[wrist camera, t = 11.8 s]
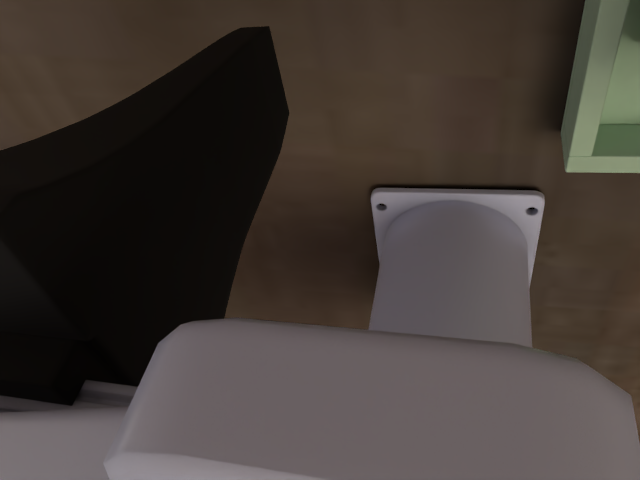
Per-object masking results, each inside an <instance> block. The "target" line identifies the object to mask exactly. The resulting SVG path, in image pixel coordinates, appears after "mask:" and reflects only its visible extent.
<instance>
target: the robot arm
mask: <svg viewBox="0 0 640 480" xmlns="http://www.w3.org/2000/svg"><path fill="white" fill-rule="evenodd" d="M288 116H289V110H288V105H287V101H286V97H285V92H284V88H283V84H282V80H281V75H280V71H279V67H278V62H277V58H276V54H275V49H274V45H273V41H272V36H271V32H270V28H269V26H266V27H247V28H239V29H237V30H235V31H233V32H231V33H229V34H227V35H226V36H224V37H222V38H221V39H219V40H217V41H216V42H214V43H213V44H211V45H210V46H208V47H207V48H205V49H204V50H202V51H201V52H199V53H198V54H196V55H195V56H193V57H192V58H190V59H189V60H187V61H186V62H184V63H183V64H181V65H180V66H178V67H177V68H175V69H174V70H172V71H171V72H169V73H167V74H166V75H164V76H162V77H161V78H159V79H158V80H156V81H154V82H153V83H151V84H149V85H148V86H146V87H145V88H143V89H141V90H140V91H138V92H136V93H135V94H133V95H131V96H129V97H128V98H126V99H124V100H122V101H120V102H118V103H117V104H115V105H113V106H111V107H109V108H107V109H105V110H103V111H101V112H99V113H96V114H94V115H92V116H90V117H88V118H86V119H84V120H82V121H79V122H77V123H74V124H72V125H69V126H67V127H64V128H62V129H59V130H57V131H54V132H52V133H49V134H47V135H44V136H42V137H39V138H37V139H34V140H31V141H29V142H26V143H23V144H20V145H17V146H14V147H11V148H8V149H4V150H1V151H0V480H640V444H639V438H638V432H637V426H636V421H635V415H634V409H633V403H632V397H631V395H630V394H628V393H627V392H626V391H624V390H623V389H621V388H620V387H618V386H617V385H615V384H614V383H613V382H611V381H610V380H608V379H607V378H605V377H604V376H602V375H601V374H599V373H598V372H597V371H595V370H594V369H592V368H591V367H589V366H588V365H586V364H585V363H583V362H581V361H580V360H578V359H577V358H573V357H569V356H565V355H561V354H556V353H552V352H548V351H543V350H539V349H535V348H532V335H531V314H530V294H529V288H530V282H531V277H532V271H533V266H534V260H535V254H536V249H537V243H538V238H539V232H540V227H541V221H542V216H543V210H544V205H545V200H544V195H543V194H542V193H541V192H539V191H535V190H486V189H430V188H376V189H374V190H373V191H372V194H371V205H372V213H373V220H374V228H375V235H376V242H377V250H378V257H379V264H380V267H379V273H378V279H377V284H376V290H375V295H374V301H373V307H372V312H371V318H370V324H369V329H368V330H365V329H354V328H343V327H333V326H322V325H311V324H300V323H290V322H279V321H268V320H258V319H247V318H226V319H224V316H225V312H226V308H227V304H228V300H229V296H230V291H231V287H232V283H233V280H234V276H235V272H236V269H237V265H238V261H239V258H240V254H241V250H242V247H243V244H244V241H245V239H246V236H247V233H248V230H249V228H250V225H251V223H252V220H253V218H254V215H255V213H256V211H257V208H258V206H259V203H260V201H261V198H262V196H263V194H264V191H265V189H266V186H267V184H268V181H269V179H270V176H271V174H272V171H273V169H274V166H275V164H276V161H277V159H278V156H279V153H280V150H281V147H282V143H283V139H284V135H285V130H286V125H287V121H288ZM379 204H384V206H382V205H379ZM531 207H534V208H535V209H528V208H531Z"/></svg>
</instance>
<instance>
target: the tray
mask: <svg viewBox="0 0 640 480" xmlns="http://www.w3.org/2000/svg"><path fill="white" fill-rule="evenodd" d="M561 139H562V148H563V156H564V164H565V171H566V172H599V173H640V0H585V4H584V10H583V15H582V20H581V26H580V31H579V36H578V42H577V47H576V53H575V58H574V63H573V69H572V74H571V79H570V85H569V90H568V96H567V101H566V106H565V112H564V117H563V123H562V128H561Z"/></svg>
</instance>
